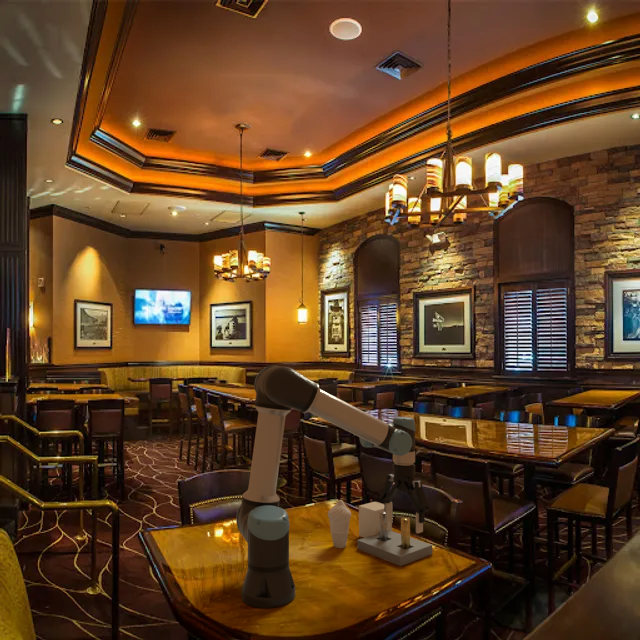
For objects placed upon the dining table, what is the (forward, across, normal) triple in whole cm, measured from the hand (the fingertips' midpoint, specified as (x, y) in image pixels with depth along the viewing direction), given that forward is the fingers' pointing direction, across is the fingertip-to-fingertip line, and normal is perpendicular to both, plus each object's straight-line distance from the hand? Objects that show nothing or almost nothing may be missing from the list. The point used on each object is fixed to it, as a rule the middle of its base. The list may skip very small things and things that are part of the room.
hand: (403, 527), depth 181 cm
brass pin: (+9, 0, -1) cm, 9 cm away
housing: (+9, +20, -7) cm, 23 cm away
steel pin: (+9, +10, -1) cm, 14 cm away
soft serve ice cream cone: (+10, +21, +10) cm, 25 cm away
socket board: (+9, +5, -1) cm, 11 cm away
